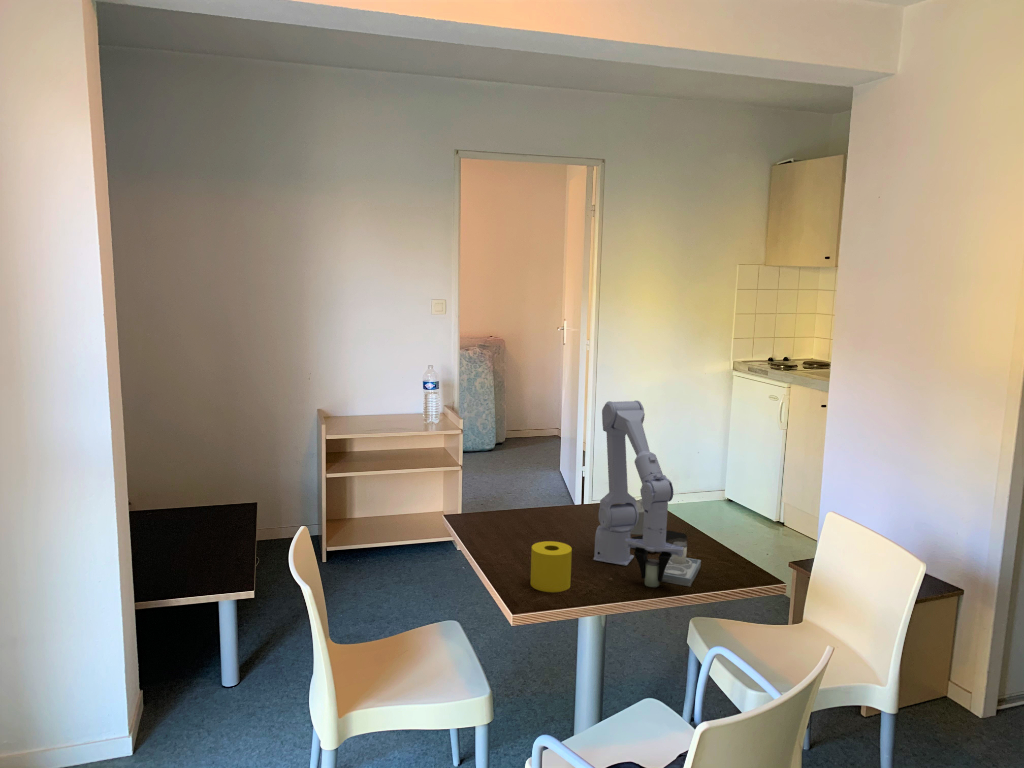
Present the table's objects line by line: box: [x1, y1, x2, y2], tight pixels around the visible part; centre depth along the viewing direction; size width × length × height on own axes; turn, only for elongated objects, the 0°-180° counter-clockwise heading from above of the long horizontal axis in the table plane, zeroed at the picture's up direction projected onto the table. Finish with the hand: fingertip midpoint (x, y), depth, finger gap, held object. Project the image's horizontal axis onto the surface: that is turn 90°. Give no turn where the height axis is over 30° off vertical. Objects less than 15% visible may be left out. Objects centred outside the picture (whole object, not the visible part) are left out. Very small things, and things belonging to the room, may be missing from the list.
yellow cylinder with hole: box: [529, 541, 573, 593], centre depth 188 cm, size 10×10×9 cm
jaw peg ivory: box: [672, 542, 688, 565], centre depth 201 cm, size 4×4×6 cm
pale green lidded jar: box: [644, 558, 660, 588], centre depth 189 cm, size 4×4×6 cm
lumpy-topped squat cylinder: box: [621, 498, 644, 536], centre depth 235 cm, size 10×13×9 cm
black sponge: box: [631, 530, 688, 553], centre depth 219 cm, size 16×8×4 cm, turn 123°
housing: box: [661, 555, 702, 587], centre depth 198 cm, size 10×15×2 cm, turn 156°
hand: (652, 578), depth 190 cm, fingers closed on pale green lidded jar, 4 cm apart
